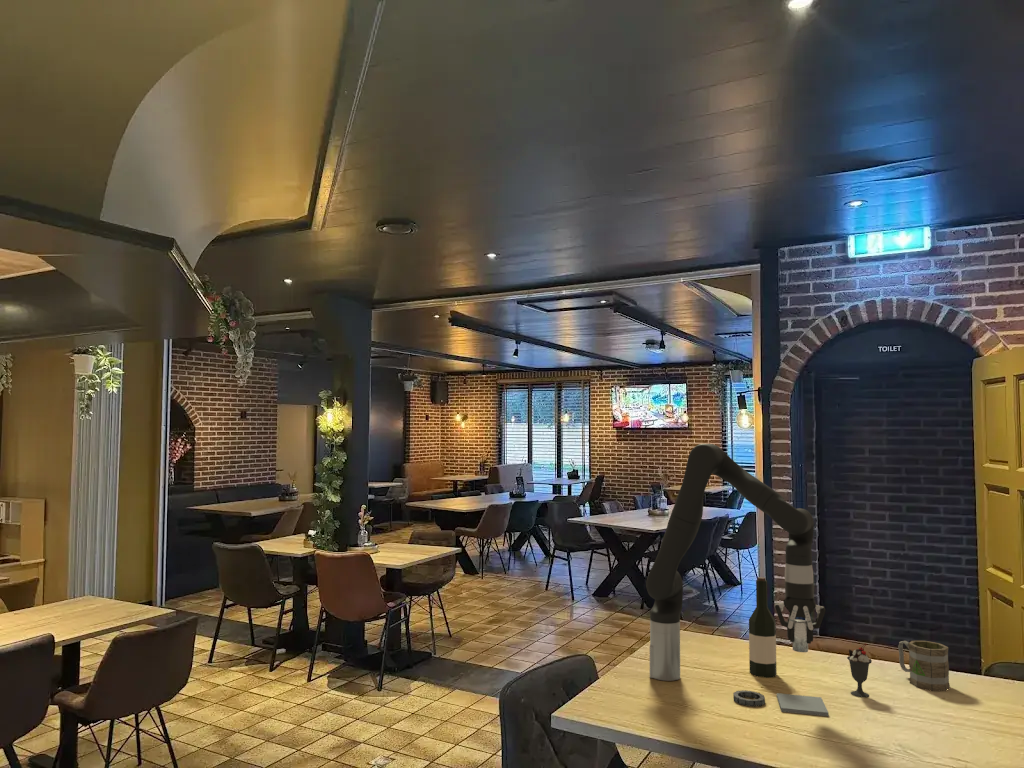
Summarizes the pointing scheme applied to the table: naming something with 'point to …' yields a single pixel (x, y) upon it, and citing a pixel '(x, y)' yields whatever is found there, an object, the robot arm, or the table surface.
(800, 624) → the cylinder
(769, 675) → the wine bottle
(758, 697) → the metal eye
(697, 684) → the table surface
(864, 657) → the sundae
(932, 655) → the mug
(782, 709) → the slate mat
